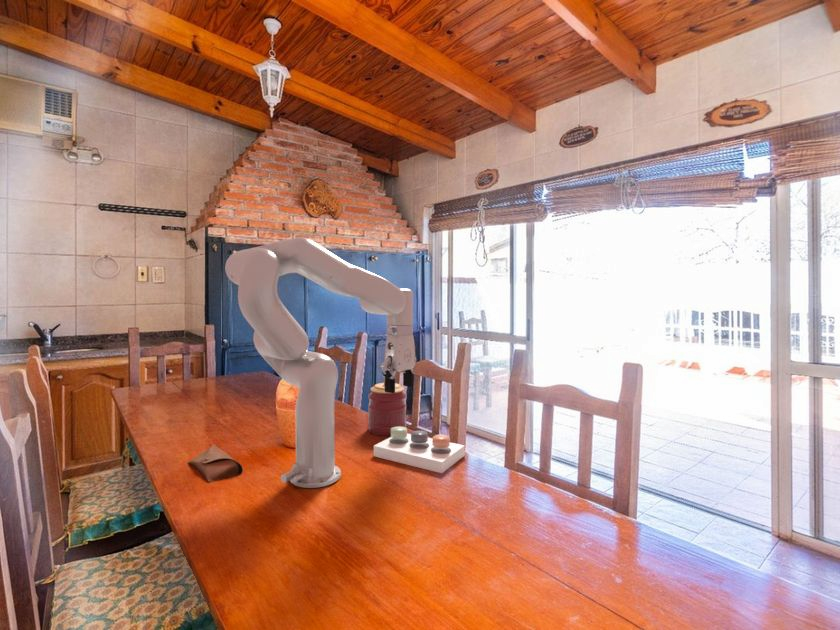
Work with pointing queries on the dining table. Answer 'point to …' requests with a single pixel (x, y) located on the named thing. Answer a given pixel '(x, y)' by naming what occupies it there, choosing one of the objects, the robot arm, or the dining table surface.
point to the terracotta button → (441, 441)
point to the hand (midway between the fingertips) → (399, 389)
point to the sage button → (398, 432)
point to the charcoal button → (419, 436)
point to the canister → (386, 409)
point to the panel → (419, 453)
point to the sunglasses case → (216, 464)
